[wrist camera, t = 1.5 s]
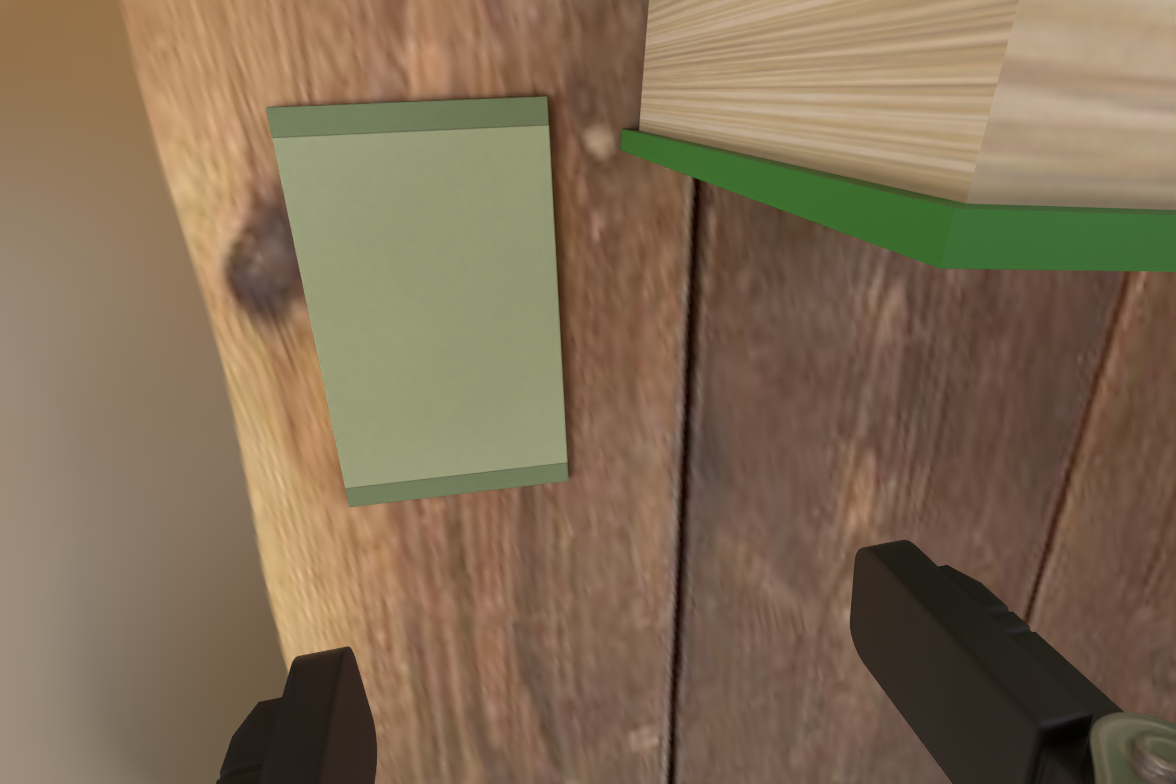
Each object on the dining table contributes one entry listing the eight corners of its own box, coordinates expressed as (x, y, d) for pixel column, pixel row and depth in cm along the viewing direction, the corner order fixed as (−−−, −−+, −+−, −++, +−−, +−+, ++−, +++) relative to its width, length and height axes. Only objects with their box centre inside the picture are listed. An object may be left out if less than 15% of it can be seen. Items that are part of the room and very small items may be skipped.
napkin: (267, 107, 29) (265, 107, 29) (546, 96, 31) (547, 96, 31) (350, 503, 38) (349, 507, 37) (567, 477, 39) (568, 481, 39)
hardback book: (620, 150, 33) (939, 268, 11) (632, -32, 30) (1101, -362, 8) (952, 164, 36) (1714, 279, 14) (992, 1, 33) (2035, -172, 11)
